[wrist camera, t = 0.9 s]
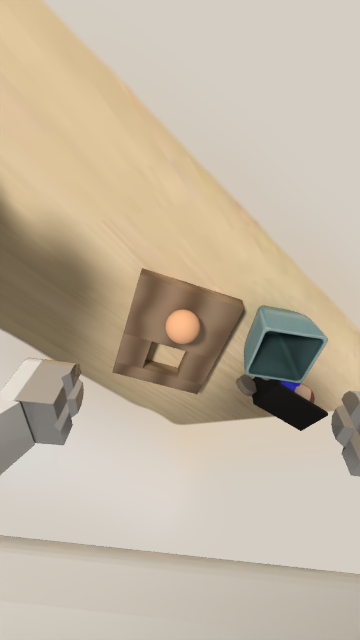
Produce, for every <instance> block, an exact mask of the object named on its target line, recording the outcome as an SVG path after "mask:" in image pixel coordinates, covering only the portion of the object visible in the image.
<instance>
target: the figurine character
mask: <svg viewBox="0 0 360 640" xmlns="http://www.w3.org/2000/svg"><path fill="white" fill-rule="evenodd" d="M236 382H237V386H238V388H239V389H240V390H241V392H243V393H244V394H245V395H247V396H251V395H252V398H253V404H255V405H257V406H258V407H260V408H262V409H264V410H265V411H267V412H269V413H270V414H272V415H274V416H276V417H277V418H279V419H281V420H283V421H284V422H286V423H288V424H290V425H291V426H293V427H295V428H297V429H298V430H300V431H302V430H303V429H305V428H307V427H309V426H310V425H312V424H314V423H316V422H317V421H319V420H321V419H322V418H324V417H326V416H328V413H327V412H326V411H325V410H323V409H321V408H320V407H318V406H316V405H315V404H313V403H314V394H313V392H312V390H311V389H310V388H309V387H307V386H306V385H303V384H301V383H294V382H289V381H283V380H276V379H269V378H262V377H255V378H253V379H251V378H250V377H248V376H246V375H242V376H241V377H240V378H238V379H237V381H236Z"/></svg>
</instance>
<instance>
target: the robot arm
mask: <svg viewBox="0 0 360 640" xmlns="http://www.w3.org/2000/svg"><path fill="white" fill-rule="evenodd" d="M80 374H81V370H80V366H79V364H77V363H69V362H61V361H53V360H46V359H45V360H43V359H35V358H28V359H26V360H24V361H23V363H22V364H21V365H20V366H19V368H18V369H17V370H16V372H15V373H14V374H13V376H12V377H11V378H10V380H9V381H8V382H7V384H6V385H5V387H4V388H3V389H2V390H1V392H0V475H1V474H2V473H3V472H4V471H5V470H6V469H8V468H9V467H10V466H11V465H12V464H13V463H14V462H16V461H17V460H18V459H19V458H20V457H21V456H22V455H23V454H25V453H26V452H27V451H28V450H29V449H30V448H31V447H33V446H34V445H35V443H43V444H56V445H64V444H65V441H66V439H67V437H68V434H69V432H70V430H71V427H72V420H71V417H73V416H74V415H75V414H77V413H78V411H79V409H80V406H81V403H82V399H83V383H82V382H81V381H80V380H79V379H78V378H79V376H80ZM342 401H343V404H344V405H342V406H340V407H338V408H336V410H335V411H334V413H333V415H332V424H331V425H332V430H333V433H334V436H335V438H336V440H337V441H338V442H339V443H340V444H342V445H343V446H344V448H343V451H342V455H343V458H344V460H345V462H346V465H347V467H348V469H349V472H350V474H351V475H353V476H360V392H357V391H348V392H347V393H345V394H344V396H343V398H342ZM0 640H360V574H353V573H343V572H334V571H325V570H316V569H307V568H306V569H305V568H297V567H288V566H279V565H270V564H261V563H251V562H242V561H233V560H223V559H215V558H205V557H195V556H187V555H178V554H168V553H159V552H150V551H140V550H131V549H122V548H112V547H104V546H94V545H85V544H76V543H67V542H57V541H48V540H39V539H28V538H21V537H11V536H2V535H0Z"/></svg>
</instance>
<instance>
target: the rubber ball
mask: <svg viewBox="0 0 360 640" xmlns="http://www.w3.org/2000/svg"><path fill="white" fill-rule="evenodd" d="M199 331H200V322H199V320H198V318H197V316H196V315H195V314H194V313H192V312H191V311H188V310H177V311H175V312H173V313H172V314H171V315H170V316H169V317H168V319H167V322H166V332H167V334H168V336H169V337H170V339H171V340H173V341H174V342H176V343H179V344H187V343H190V342H192V341H193V340H194V339H195V338H196V337H197V336H198V334H199Z"/></svg>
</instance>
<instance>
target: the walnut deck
mask: <svg viewBox="0 0 360 640" xmlns="http://www.w3.org/2000/svg"><path fill="white" fill-rule="evenodd" d="M177 310H188V311H191V312H192V313H194V314H195V315H196V316H197V318H198V320H199V322H200V331H199V334H198V336H197V337H196V338H195V339H194V340H193V341H192V342H190V343H187V344H179V343H176V342H174V341H173V340H171V339H170V337H169V336H168V334H167V332H166V322H167V319H168V317H169V316H170V315H171V314H172V313H173V312H175V311H177ZM243 310H244V306H243V303H242V300H240V299H237V298H234V297H230V296H227V295H224V294H221V293H218V292H215V291H212V290H209V289H205V288H202V287H199V286H196V285H193V284H190V283H187V282H183V281H180V280H177V279H174V278H171V277H168V276H165V275H161V274H158V273H155V272H152V271H149V270H146V269H143V268H142V271H141V274H140V277H139V280H138V284H137V287H136V291H135V294H134V298H133V302H132V305H131V309H130V312H129V316H128V319H127V323H126V326H125V330H124V333H123V337H122V341H121V344H120V348H119V351H118V355H117V358H116V362H115V365H114V369H113V373H117V374H121V375H125V376H129V377H132V378H136V379H140V380H144V381H148V382H152V383H156V384H160V385H163V386H167V387H171V388H175V389H179V390H183V391H187V392H191V393H194V394H197V393H198V392H199V390H200V388H201V386H202V384H203V382H204V381H205V379H206V377H207V375H208V373H209V372H210V370H211V368H212V366H213V364H214V363H215V361H216V359H217V357H218V355H219V353H220V352H221V350H222V348H223V346H224V344H225V343H226V341H227V339H228V337H229V335H230V333H231V332H232V330H233V328H234V326H235V324H236V323H237V321H238V319H239V317H240V315H241V314H242V312H243ZM152 342H156V343H159V344H163V345H167V346H170V347H174V348H177V349H181V350H184V351H186V352H185V354H184V356H183V358H182V361H181V363H180V365H179V367H178V368H176V367H172V366H168V365H165V364H161V363H157V362H154V361H150V360H146V357H147V354H148V351H149V348H150V346H151V343H152Z"/></svg>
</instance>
